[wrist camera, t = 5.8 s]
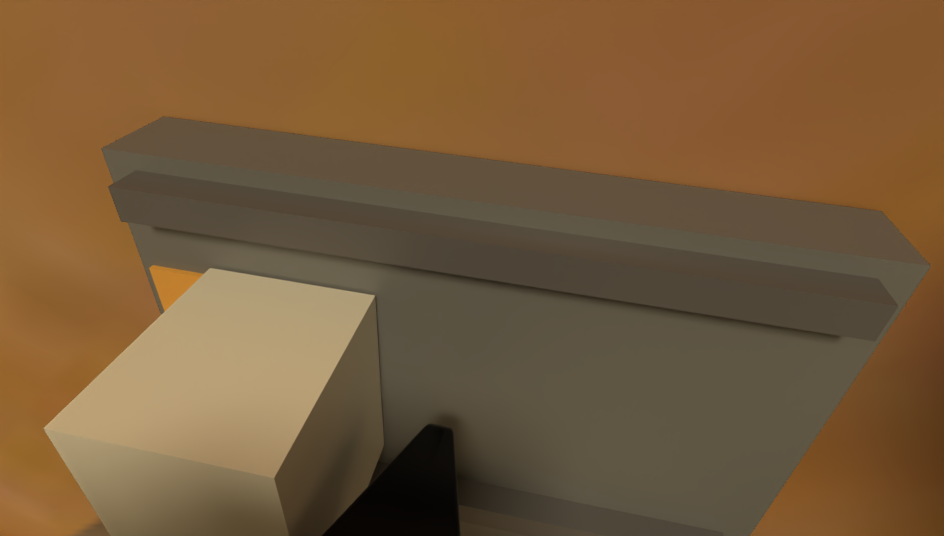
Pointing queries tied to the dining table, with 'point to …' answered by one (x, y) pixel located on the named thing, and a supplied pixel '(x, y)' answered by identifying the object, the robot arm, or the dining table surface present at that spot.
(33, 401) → the dining table surface
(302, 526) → the tab
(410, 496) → the robot arm
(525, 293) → the switch bank
